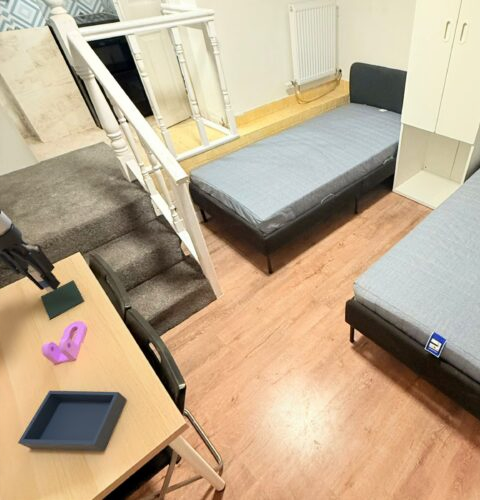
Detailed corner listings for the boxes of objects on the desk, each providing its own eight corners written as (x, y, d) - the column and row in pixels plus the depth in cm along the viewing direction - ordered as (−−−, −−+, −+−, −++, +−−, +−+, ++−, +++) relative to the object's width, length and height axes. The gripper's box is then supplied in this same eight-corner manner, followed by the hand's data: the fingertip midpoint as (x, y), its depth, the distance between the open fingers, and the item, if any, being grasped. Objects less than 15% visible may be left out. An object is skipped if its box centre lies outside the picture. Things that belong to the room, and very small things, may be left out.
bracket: (77, 360, 93) (63, 348, 88) (55, 365, 92) (40, 352, 87) (89, 321, 102) (76, 308, 97) (69, 325, 101) (55, 312, 96)
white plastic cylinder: (43, 291, 104) (21, 269, 96) (51, 283, 106) (30, 261, 99) (53, 292, 103) (31, 270, 96) (60, 284, 105) (40, 262, 98)
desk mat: (41, 297, 110) (40, 296, 109) (73, 281, 114) (73, 280, 114) (50, 319, 103) (49, 318, 103) (84, 301, 108) (83, 300, 107)
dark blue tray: (32, 449, 77) (17, 443, 74) (61, 398, 86) (49, 390, 82) (105, 451, 77) (94, 445, 73) (127, 400, 85) (118, 391, 81)
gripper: (-45, 240, 85) (17, 296, 102) (16, 239, 84) (69, 296, 101) (-23, 221, 91) (33, 277, 107) (35, 220, 90) (82, 277, 106)
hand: (50, 286), depth 104 cm, fingers closed on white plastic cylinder, 3 cm apart
